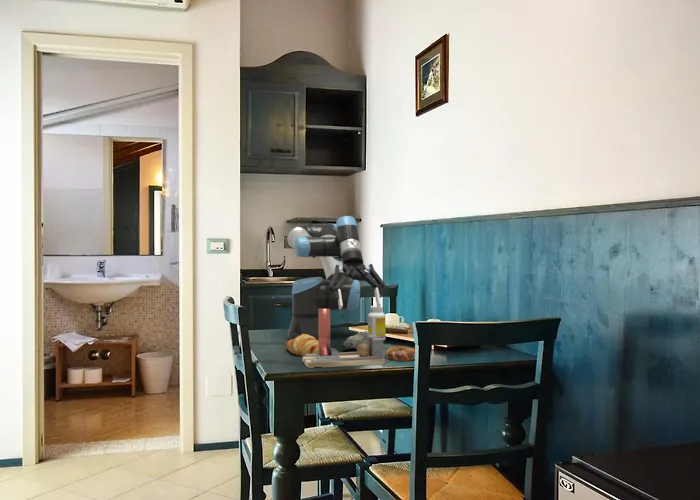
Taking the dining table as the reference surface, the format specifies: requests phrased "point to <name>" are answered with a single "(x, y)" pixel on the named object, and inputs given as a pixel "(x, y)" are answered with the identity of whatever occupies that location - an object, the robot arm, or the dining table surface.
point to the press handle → (325, 336)
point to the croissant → (303, 345)
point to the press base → (352, 356)
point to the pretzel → (400, 353)
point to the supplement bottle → (377, 322)
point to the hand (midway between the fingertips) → (360, 306)
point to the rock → (356, 340)
